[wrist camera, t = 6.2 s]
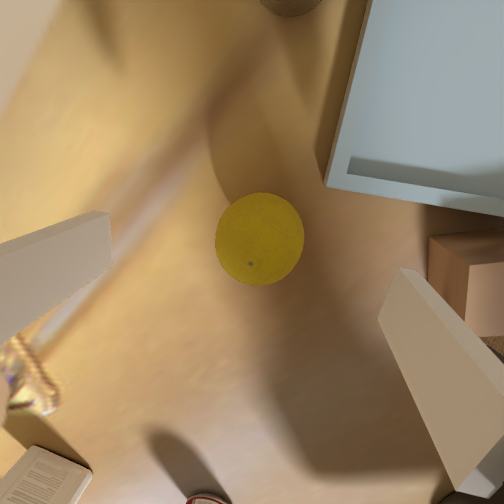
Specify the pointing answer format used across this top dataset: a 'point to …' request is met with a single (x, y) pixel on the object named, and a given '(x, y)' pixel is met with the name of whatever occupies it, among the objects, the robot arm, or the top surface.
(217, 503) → the soda can
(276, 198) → the lemon
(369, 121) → the dish
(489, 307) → the walnut block
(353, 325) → the top surface
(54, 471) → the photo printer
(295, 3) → the grey tin
